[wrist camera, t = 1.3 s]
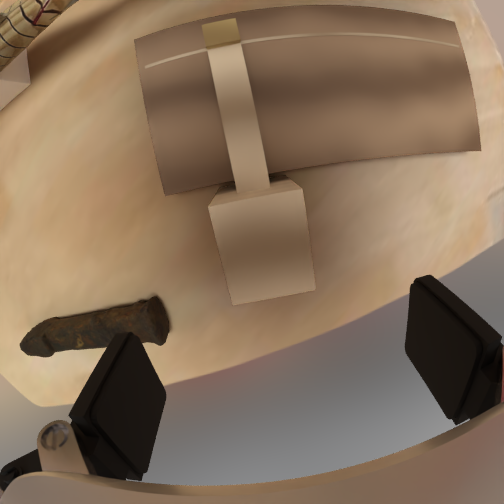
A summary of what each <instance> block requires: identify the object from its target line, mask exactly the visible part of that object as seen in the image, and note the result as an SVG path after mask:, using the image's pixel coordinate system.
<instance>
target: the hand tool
mask: <svg viewBox="0 0 504 504" xmlns="http://www.w3.org/2000/svg"><path fill="white" fill-rule="evenodd" d="M169 331H170V330H169V321H168V319H167V316H166V313H165V310H164V308H163V306H162V304H161V302H160V301H159V299H158V298H157V297H152V298H151V299H150V300H149V301H147V302H144V301H139V302H137V303H135V304H134V305H132V306H128V307H123V308H114V309H109V310H106V311H103V312H93V313H90V314H85V315H80V316H75V317H69V318H63V319H59V318H57V317H53V318H50V319H47V320H45V321H43V322H42V323H40V324H38V325H37V326H35V327H34V328H32V330H31V331H30V332H28V333H27V334H26V336H25V337H24V338H23V340H22V341H21V343H20V347H21V350H22V351H23V352H25V353H26V354H27V355H30V356H40V357H50V356H52V355H53V354H54V353H55V352H60V351H65V350H81V349H94V348H105V347H108V345H109V343H110V342H111V340H112V339H113V337H114V335H115V334H116V333H122V332H133V333H134V335H137V336H138V337H139V338H140V340H141V342H142V343H145V342H151V343H155V344H158V345H160V346H162V345H163V344H164V343H165V342H166V339H167V336H168V333H169Z"/></svg>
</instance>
